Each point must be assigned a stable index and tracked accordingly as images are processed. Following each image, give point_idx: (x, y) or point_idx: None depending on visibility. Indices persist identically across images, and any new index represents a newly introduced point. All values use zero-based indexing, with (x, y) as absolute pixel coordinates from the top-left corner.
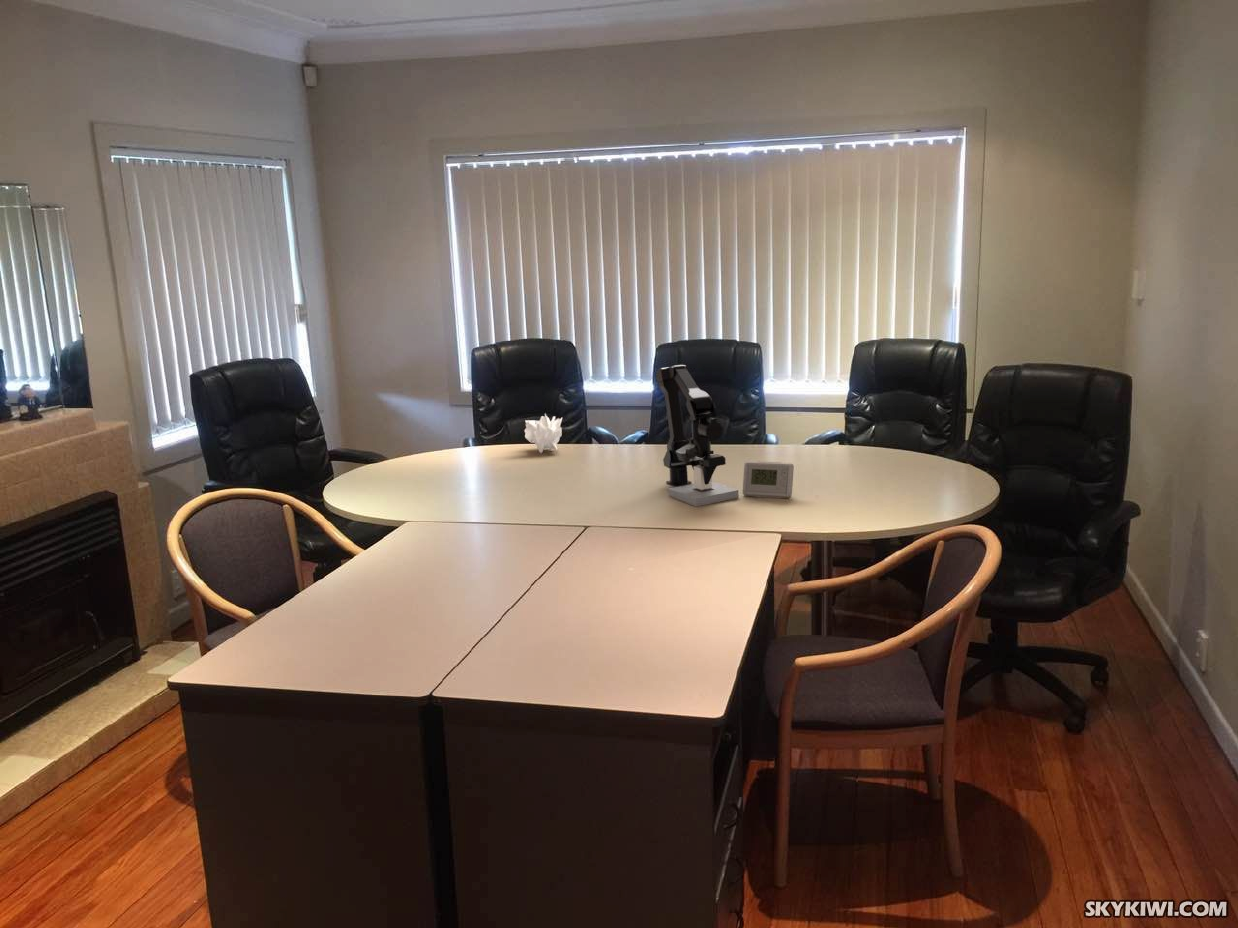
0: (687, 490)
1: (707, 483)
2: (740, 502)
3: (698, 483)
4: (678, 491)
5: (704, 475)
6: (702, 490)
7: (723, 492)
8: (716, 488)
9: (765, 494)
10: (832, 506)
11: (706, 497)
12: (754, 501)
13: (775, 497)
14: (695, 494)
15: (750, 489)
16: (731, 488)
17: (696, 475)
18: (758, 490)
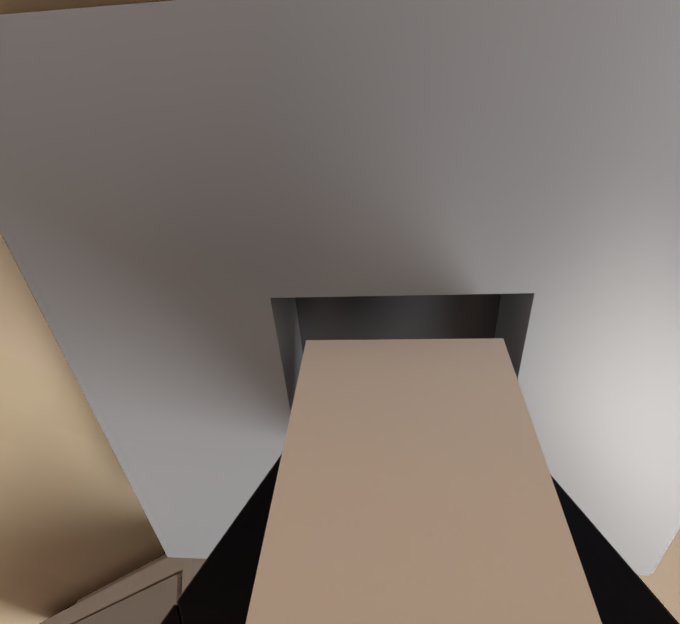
0: (515, 200)
1: None
2: (46, 445)
3: (376, 402)
4: (602, 5)
5: (207, 599)
6: None
7: (135, 460)
8: None
9: (98, 595)
10: None
11: (20, 242)
12: (45, 508)
13: (90, 596)
14: (187, 175)
15: (155, 600)
16: None
17: (452, 537)
18: (122, 611)
